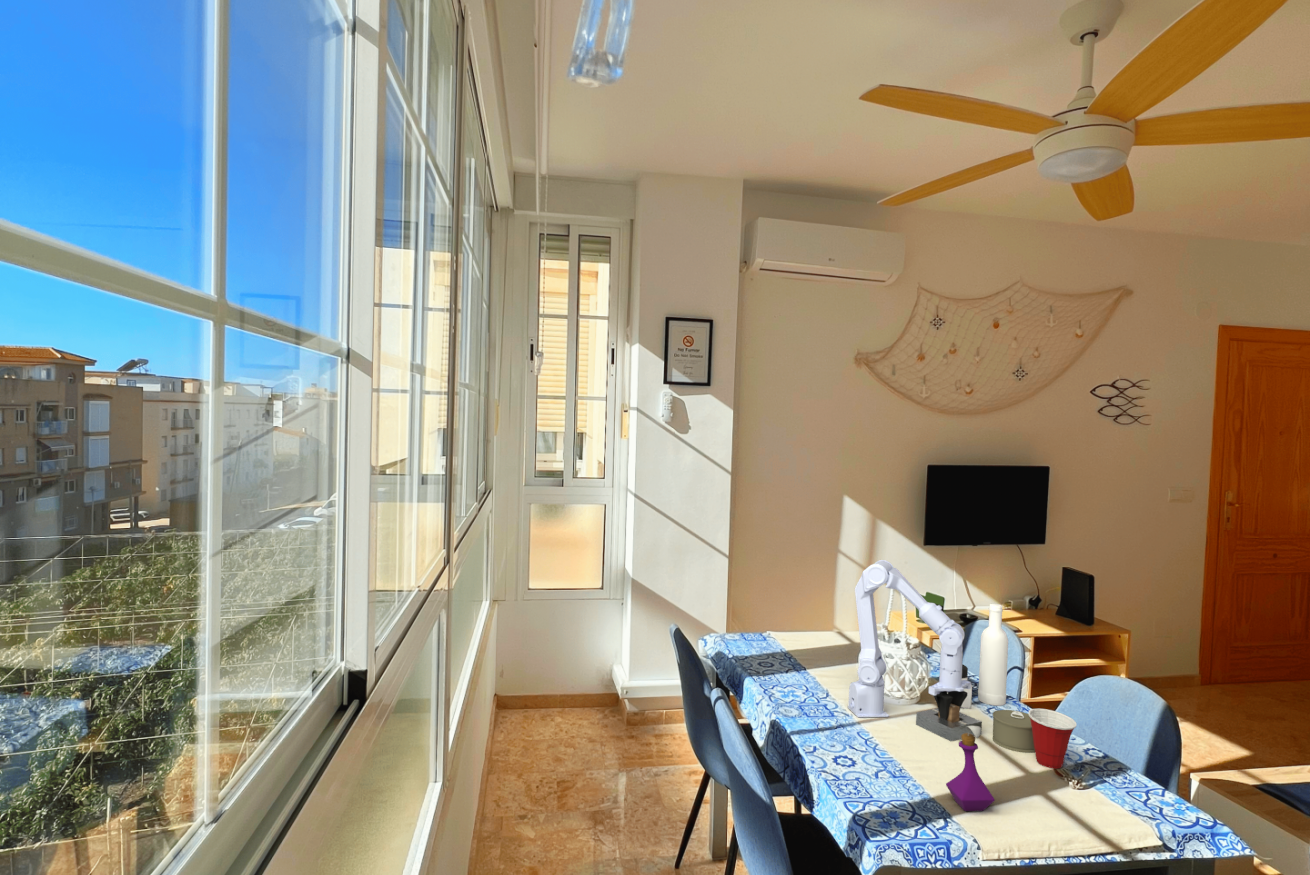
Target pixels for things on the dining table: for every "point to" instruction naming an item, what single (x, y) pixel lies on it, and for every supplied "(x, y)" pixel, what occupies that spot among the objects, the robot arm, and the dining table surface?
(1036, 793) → the dining table surface
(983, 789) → the perfume bottle
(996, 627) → the bottle
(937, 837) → the dining table surface
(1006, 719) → the can
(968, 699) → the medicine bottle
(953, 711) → the peg
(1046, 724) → the plastic cup
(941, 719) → the block with rectangular hole
